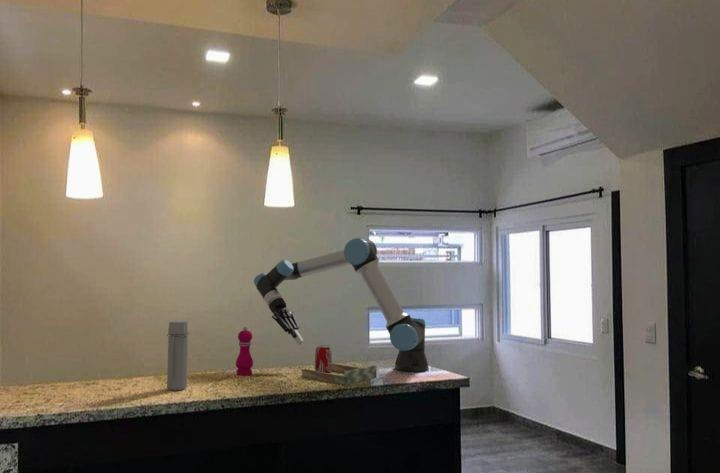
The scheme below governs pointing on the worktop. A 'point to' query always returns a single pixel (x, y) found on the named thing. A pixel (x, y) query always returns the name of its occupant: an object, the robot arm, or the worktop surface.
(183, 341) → the water bottle
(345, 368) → the wooden tray
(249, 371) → the pepper mill
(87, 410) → the worktop surface
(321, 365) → the soda can
